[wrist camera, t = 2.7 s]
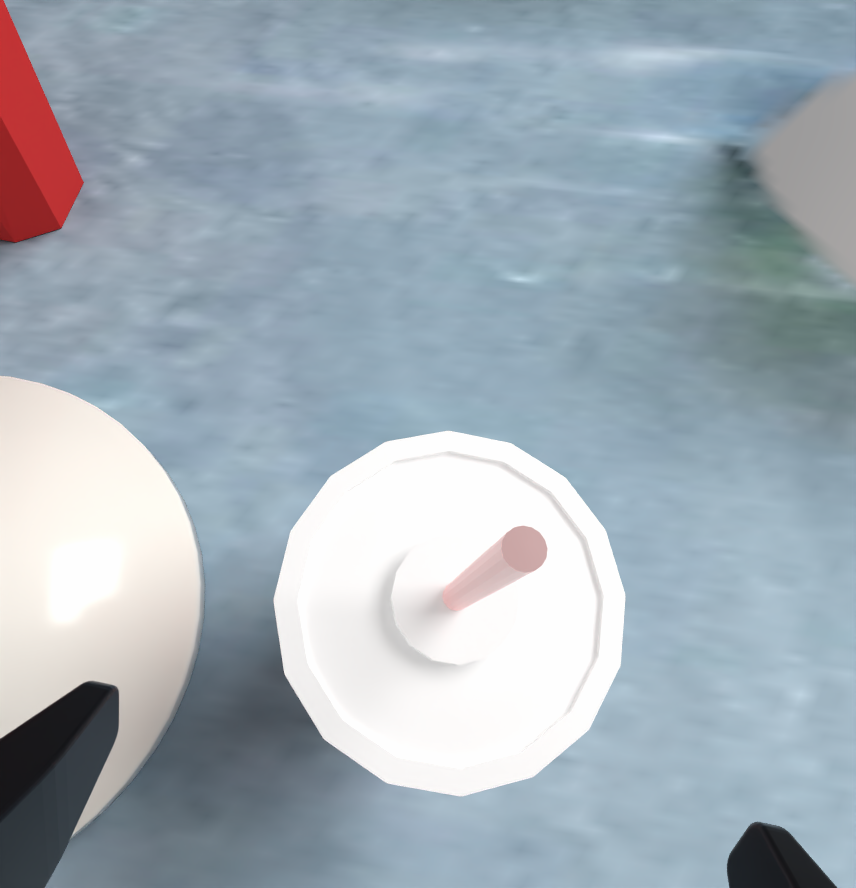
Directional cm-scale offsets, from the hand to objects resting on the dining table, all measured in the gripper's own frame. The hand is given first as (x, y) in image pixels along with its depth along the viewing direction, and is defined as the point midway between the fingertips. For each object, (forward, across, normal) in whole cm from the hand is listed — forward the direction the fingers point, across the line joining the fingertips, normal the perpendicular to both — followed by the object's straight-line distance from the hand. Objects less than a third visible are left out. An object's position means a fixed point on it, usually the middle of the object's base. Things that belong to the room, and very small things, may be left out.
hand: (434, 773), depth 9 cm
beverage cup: (+9, 0, +6) cm, 11 cm away
